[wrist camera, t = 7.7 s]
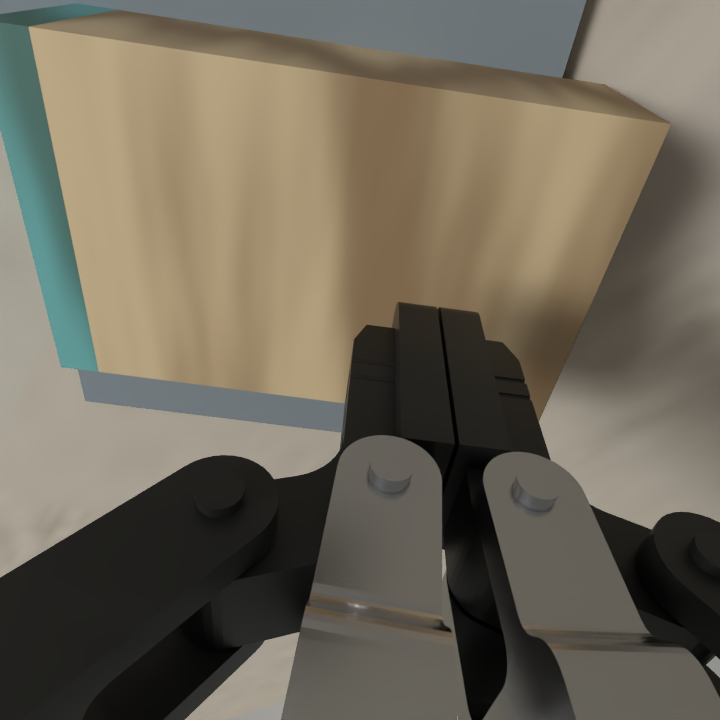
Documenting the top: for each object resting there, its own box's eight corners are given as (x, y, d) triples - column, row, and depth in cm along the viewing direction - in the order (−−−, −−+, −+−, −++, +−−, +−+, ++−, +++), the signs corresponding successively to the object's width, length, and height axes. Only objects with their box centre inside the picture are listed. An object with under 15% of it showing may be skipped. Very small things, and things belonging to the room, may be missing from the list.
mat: (643, -204, 11) (651, -208, 10) (446, 438, 22) (447, 445, 21) (-75, -324, 10) (-90, -333, 10) (90, 394, 21) (85, 401, 21)
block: (671, 124, 10) (-29, 17, 10) (535, 427, 15) (61, 367, 15) (604, 84, 13) (75, 3, 13) (510, 345, 18) (121, 293, 18)
